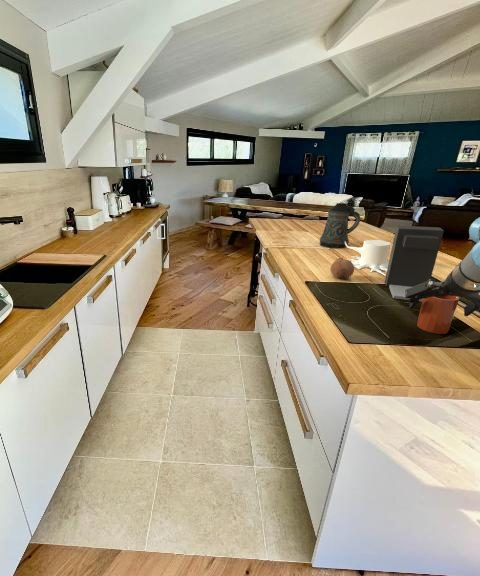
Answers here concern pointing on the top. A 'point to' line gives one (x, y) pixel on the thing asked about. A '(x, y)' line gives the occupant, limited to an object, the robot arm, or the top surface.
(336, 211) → the beer stein
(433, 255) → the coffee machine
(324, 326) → the top surface
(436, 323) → the terracotta cup
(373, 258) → the tree stump
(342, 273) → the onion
